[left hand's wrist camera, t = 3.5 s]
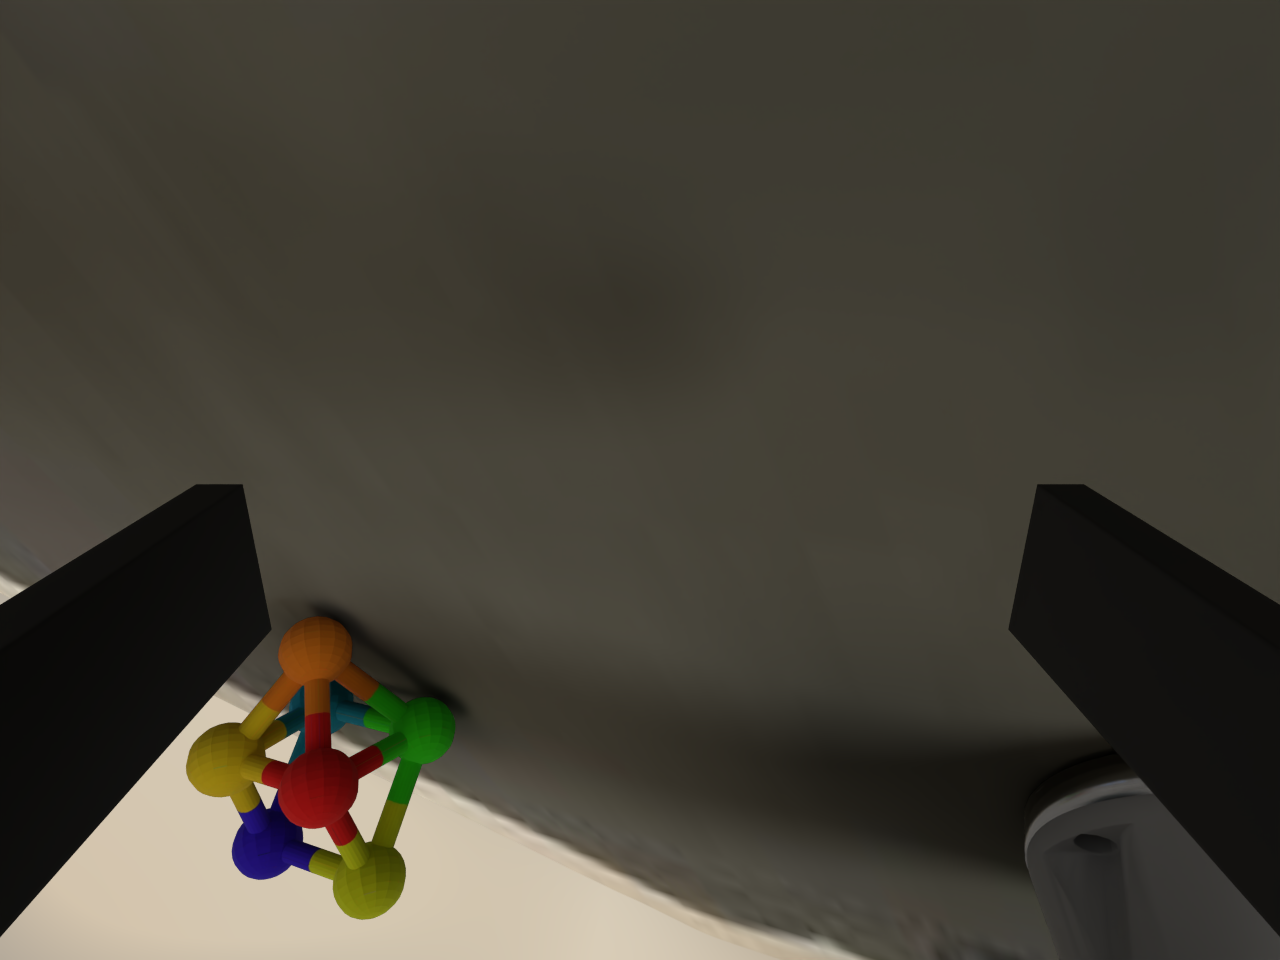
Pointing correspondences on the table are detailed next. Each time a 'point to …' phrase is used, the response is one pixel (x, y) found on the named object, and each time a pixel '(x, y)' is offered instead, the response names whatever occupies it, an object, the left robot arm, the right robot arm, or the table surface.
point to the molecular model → (321, 769)
